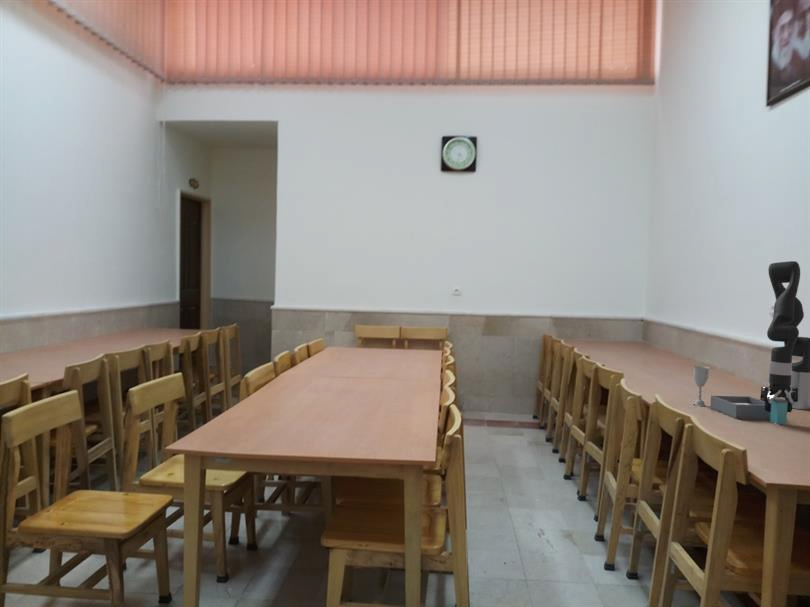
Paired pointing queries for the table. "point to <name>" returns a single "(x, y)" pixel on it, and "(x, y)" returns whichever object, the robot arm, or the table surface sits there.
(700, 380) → the chalice
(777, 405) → the peg
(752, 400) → the walled box
